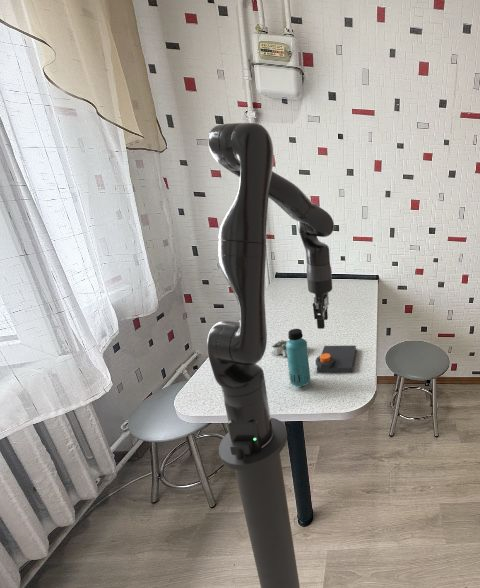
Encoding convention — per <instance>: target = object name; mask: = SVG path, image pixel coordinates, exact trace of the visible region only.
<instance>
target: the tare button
mask: <svg viewBox="0 0 480 588" xmlns="http://www.w3.org/2000/svg"><path fill="white" fill-rule="evenodd" d="M319 356H320V362H322V363H327V362H329V361H330V360H331V356H330V354H328V353H324V354H322V353H321V354H320V355H319Z"/></svg>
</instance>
